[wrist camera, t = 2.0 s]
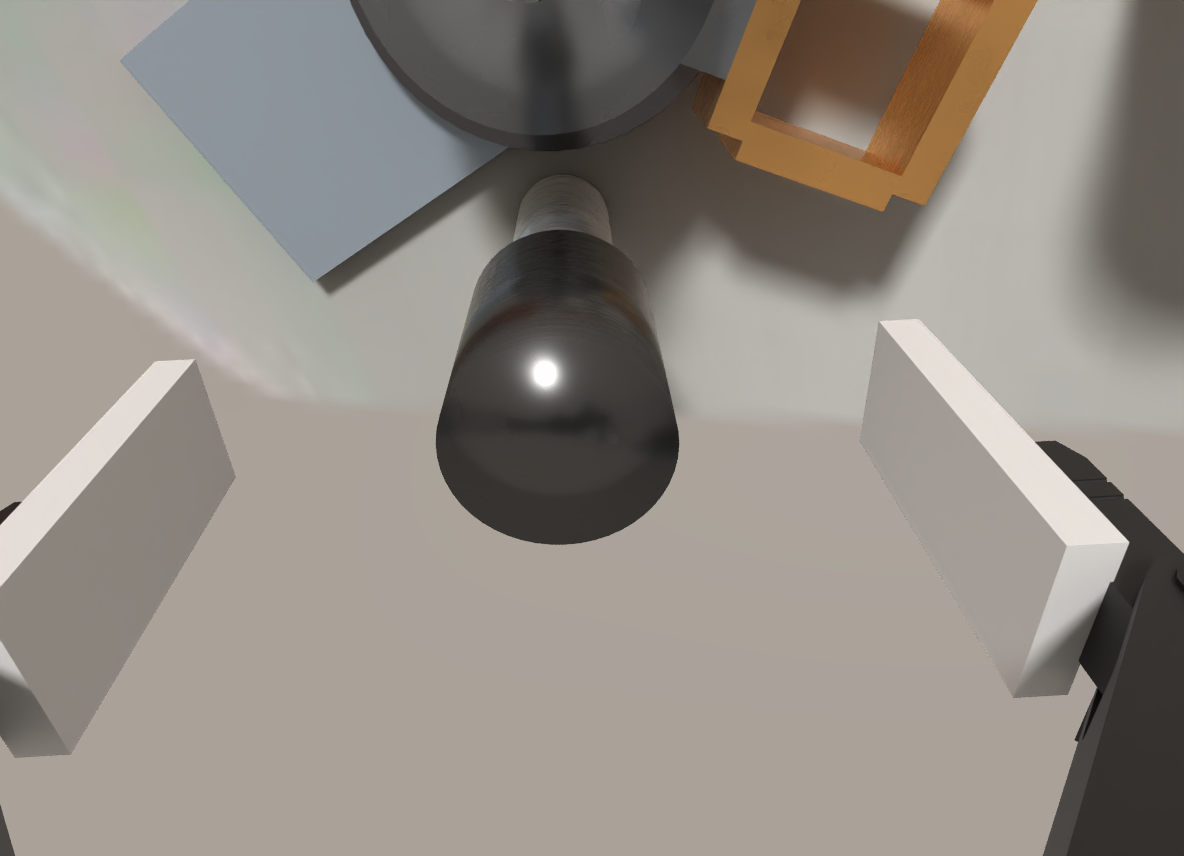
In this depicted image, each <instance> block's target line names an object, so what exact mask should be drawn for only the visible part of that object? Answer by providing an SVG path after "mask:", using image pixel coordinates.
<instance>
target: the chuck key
mask: <svg viewBox="0 0 1184 856" xmlns="http://www.w3.org/2000/svg"><path fill="white" fill-rule="evenodd" d="M436 449H437V458H438V462H439V466H440V470H441V472H442V475H443V477H444V479H445V482H446V483H447V485H448V487H449V488H450V490H451V492H452V493H453V495H454V496H455V497H456V499H457V500H458V501H459V502H460V504H461V505H462V506H463V507H464V508H465V509H467V510H468V511H469V512H470V513H471V514H472V515H473V516H475V517H476V518H477V519H478V520H480V521H481V522H482V523H484V524H486V525H488V526H489V527H491V528H493V529H494V530H497V531H499V532H501V533H503V534H506V535H508V536H511V537H514V538H517V539H520V540H524V541H529V542H534V543H541V544H552V545H553V544H555V545H557V544H558V545H560V544H561V545H563V544H575V543H583V542H588V541H592V540H596V539H599V538H603V537H606V536H609V535H611V534H613V533H615V532H618V531H620V530H622V529H624V528H625V527H627V526H629V525H630V524H632V523H634V522H635V521H636V520H638V519H639V518H640V517H642V516H643V515H644V514H645V513H646V512H647V511H648V510H650V509H651V508H652V507H653V506H654V505H655V503H656V502H657V501H658V499H659V498H660V497H661V496H662V494H663V493H664V491H665V490H666V488H667V486H668V485H669V483H670V480H671V478H672V476H673V473H674V471H675V467H676V463H677V459H678V452H679V435H678V427H677V423H676V418H675V414H674V409H673V405H672V400H671V396H670V391H669V387H668V382H667V378H666V373H665V369H664V364H663V360H662V355H661V351H660V346H659V342H658V337H657V333H656V328H655V324H654V319H653V315H652V310H651V306H650V301H649V297H648V292H647V289H646V286H645V284H644V281H643V279H642V277H641V276H640V274H639V272H638V270H637V269H636V268H635V266H634V265H633V264H632V262H631V261H630V260H629V259H628V258H627V257H626V256H625V255H624V254H623V253H622V252H621V251H619V250H618V249H617V248H616V247H614V246H613V244H612V237H611V230H610V223H609V215H608V210H607V206H606V204H605V201H604V199H603V197H602V196H601V194H600V193H599V191H598V190H597V189H596V188H595V187H594V186H593V185H591V184H590V183H589V182H587V181H585V180H584V179H581V178H579V177H576V176H572V175H554V176H550V177H547V178H545V179H542V180H541V181H539V182H537V183H536V184H535V185H533V186H532V187H531V188H530V189H529V191H528V192H527V193H526V195H525V196H524V198H523V200H522V202H521V205H520V209H519V213H518V218H517V224H516V229H515V234H514V239H513V242H512V243H511V244H509V245H508V246H506V247H505V248H504V249H502V250H501V251H500V252H499V253H498V254H497V255H496V256H495V257H494V258H492V259H491V261H490V262H489V263H488V265H487V266H486V267H485V269H484V270H483V272H482V274H481V276H480V277H479V279H478V282H477V284H476V287H475V290H474V293H473V297H472V301H471V304H470V308H469V311H468V315H467V319H466V322H465V326H464V330H463V333H462V337H461V340H460V344H459V348H458V351H457V355H456V359H455V362H454V366H453V369H452V373H451V377H450V380H449V384H448V388H447V391H446V395H445V398H444V402H443V406H442V409H441V413H440V417H439V421H438V426H437V431H436Z"/></svg>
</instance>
